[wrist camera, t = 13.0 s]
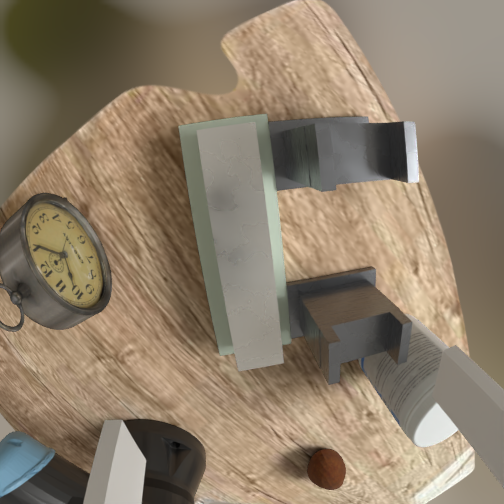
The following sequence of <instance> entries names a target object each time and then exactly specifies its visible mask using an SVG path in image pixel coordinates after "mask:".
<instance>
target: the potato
mask: <svg viewBox="0 0 504 504" xmlns="http://www.w3.org/2000/svg"><path fill="white" fill-rule="evenodd" d="M307 473H308V476H309V479H310V480H311V481H312V482H313V483H314V484H316V485H317V486H319V487H321V488H325V489H327V490H334V489H337V488H339V487H341V486H342V484H343V481H344V478H345V474H346V468H345V464H344V462H343V459H342V457H341V456H340V455H339V454H338V453H337V452H336V451H334V450H332V449H323V450H320V451H318V452H316V453H315V454H314V455H313V456H312V458H311V460H310V462H309V464H308V469H307Z"/></svg>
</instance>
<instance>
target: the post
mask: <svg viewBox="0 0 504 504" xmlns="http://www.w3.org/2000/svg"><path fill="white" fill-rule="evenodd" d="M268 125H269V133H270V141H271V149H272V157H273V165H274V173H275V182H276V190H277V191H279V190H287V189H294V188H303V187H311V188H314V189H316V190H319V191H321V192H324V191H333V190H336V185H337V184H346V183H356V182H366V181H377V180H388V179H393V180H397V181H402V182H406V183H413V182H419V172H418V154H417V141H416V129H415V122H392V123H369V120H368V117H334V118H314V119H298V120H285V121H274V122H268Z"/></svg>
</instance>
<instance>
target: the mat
mask: <svg viewBox="0 0 504 504" xmlns="http://www.w3.org/2000/svg"><path fill="white" fill-rule="evenodd" d="M251 122H255V123H256V130H257V138H258V145H259V153H260V161H261V168H262V176H263V184H264V192H265V200H266V208H267V216H268V224H269V233H270V241H271V249H272V258H273V267H274V275H275V284H276V293H277V302H278V311H279V320H280V330H281V339H282V345H286V344H291V332H290V321H289V309H288V298H287V287H286V276H285V266H284V256H283V246H282V236H281V227H280V217H279V208H278V199H277V191H276V182H275V173H274V165H273V157H272V149H271V141H270V133H269V125H268V117H267V114H260V115H250V116H242V117H234V118H226V119H219V120H212V121H205V122H199V123H192V124H186V125H181V126H179V133H180V140H181V147H182V154H183V161H184V168H185V174H186V181H187V187H188V193H189V199H190V205H191V211H192V217H193V223H194V229H195V234H196V240H197V245H198V251H199V256H200V262H201V267H202V272H203V277H204V282H205V287H206V292H207V297H208V302H209V307H210V312H211V317H212V322H213V326H214V331H215V336H216V340H217V345H218V349H219V354H220V356H222V355H229V354H235V353H234V348H233V343H232V338H231V332H230V327H229V322H228V317H227V312H226V306H225V301H224V296H223V290H222V285H221V279H220V274H219V268H218V262H217V257H216V251H215V245H214V239H213V233H212V228H211V222H210V215H209V209H208V203H207V197H206V191H205V184H204V178H203V171H202V165H201V158H200V151H199V144H198V138H197V131H196V130H201V129H207V128H214V127H221V126H228V125H235V124H243V123H251Z"/></svg>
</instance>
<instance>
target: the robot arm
mask: <svg viewBox="0 0 504 504" xmlns="http://www.w3.org/2000/svg"><path fill="white" fill-rule="evenodd" d="M432 397H433V398H434V400H435V401H436V402H437V403H438V405H439V406H440V407H441V408H442V410H443V411H444V412H445V413H446V414H447V416H448V417H449V418H450V419H451V421H452V422H453V423H454V424H455V426H456V427H457V428H458V429H459V431H460V432H461V433H462V435H463V436H464V437H465V438H466V440H467V441H468V442H469V443H470V445H471V446H472V447H473V449H474V450H475V451H476V452H477V454H478V455H479V456H480V458H481V459H482V460H483V461H484V463H485V464H486V466H487V467H488V468H489V469H490V471H491V472H492V473H493V475H494V476H495V477H496V479H497V480H498V481H499V483H500V484H501V485H502V487H503V488H504V390H503V389H502V388H501V387H500V386H499V385H498V384H497V383H496V382H495V381H494V380H493V379H492V378H491V377H490V376H489V375H488V374H487V373H486V372H484V371H483V370H482V369H481V368H480V367H479V366H478V365H477V364H476V363H475V362H474V361H473V360H471V359H470V358H469V357H468V356H467V355H466V354H465V353H464V352H463V351H462V350H461V349H459V348H458V347H457V346H456V345H455V346H453V347H451V348H448V349H446V350H443V352H442V357H441V362H440V366H439V370H438V375H437V379H436V383H435V386H434V390H433V394H432ZM205 468H206V453H205V449H204V447H203V445H202V444H201V443H200V442H199V440H198V439H197V438H195V437H194V436H193V435H191V434H190V433H188V432H187V431H185V430H183V429H181V428H178V427H176V426H173V425H170V424H167V423H163V422H158V421H152V420H130V421H125V422H123V420H105V422H104V425H103V428H102V432H101V435H100V439H99V442H98V446H97V450H96V453H95V457H94V461H93V465H92V469H91V473H90V474H89V473H88V472H86V471H84V470H82V469H81V468H79V467H77V466H76V465H74V464H72V463H71V462H69V461H68V460H66V459H65V458H63V457H61V456H60V455H58V454H57V453H55V450H54V449H52V448H48V447H46V446H45V445H43V444H41V443H40V442H38V441H37V440H35V439H34V438H32V437H31V436H29V435H28V434H26V433H24V432H20V431H15V432H12V433H9V434H8V435H7V436H6V437H5V438H4V439H3V440H2V441H1V442H0V504H194V496H195V494H196V492H197V489H198V487H199V484H200V482H201V479H202V477H203V474H204V472H205Z"/></svg>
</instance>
